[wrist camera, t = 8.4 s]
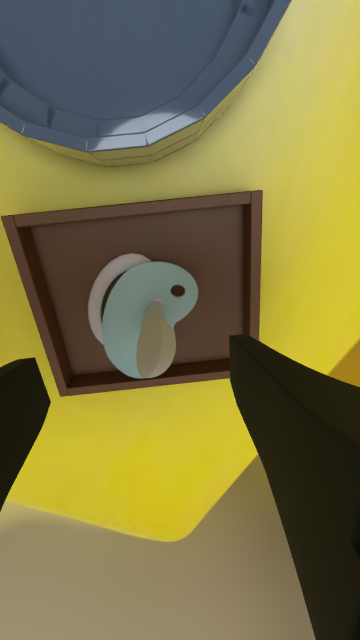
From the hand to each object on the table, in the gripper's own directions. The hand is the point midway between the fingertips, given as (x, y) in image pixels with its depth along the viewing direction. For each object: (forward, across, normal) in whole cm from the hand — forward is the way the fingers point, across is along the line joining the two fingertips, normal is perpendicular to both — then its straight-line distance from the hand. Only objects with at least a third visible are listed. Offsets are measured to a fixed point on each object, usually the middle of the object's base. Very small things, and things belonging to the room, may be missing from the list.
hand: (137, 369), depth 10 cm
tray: (+8, 0, 0) cm, 8 cm away
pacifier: (+8, +1, 0) cm, 8 cm away
